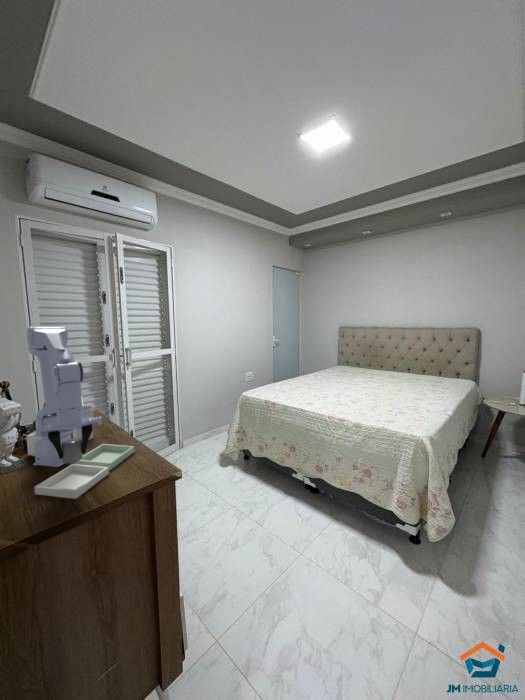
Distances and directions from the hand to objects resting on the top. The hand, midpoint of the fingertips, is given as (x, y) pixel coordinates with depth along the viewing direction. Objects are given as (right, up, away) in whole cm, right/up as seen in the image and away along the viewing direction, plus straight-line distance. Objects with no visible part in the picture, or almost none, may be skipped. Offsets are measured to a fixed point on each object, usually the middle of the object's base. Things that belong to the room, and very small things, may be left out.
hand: (72, 454), depth 76 cm
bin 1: (0, -9, +1) cm, 9 cm away
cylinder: (0, -1, 0) cm, 1 cm away
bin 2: (+1, -8, +15) cm, 17 cm away
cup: (-17, -6, +32) cm, 37 cm away
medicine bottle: (-23, -7, +21) cm, 32 cm away
